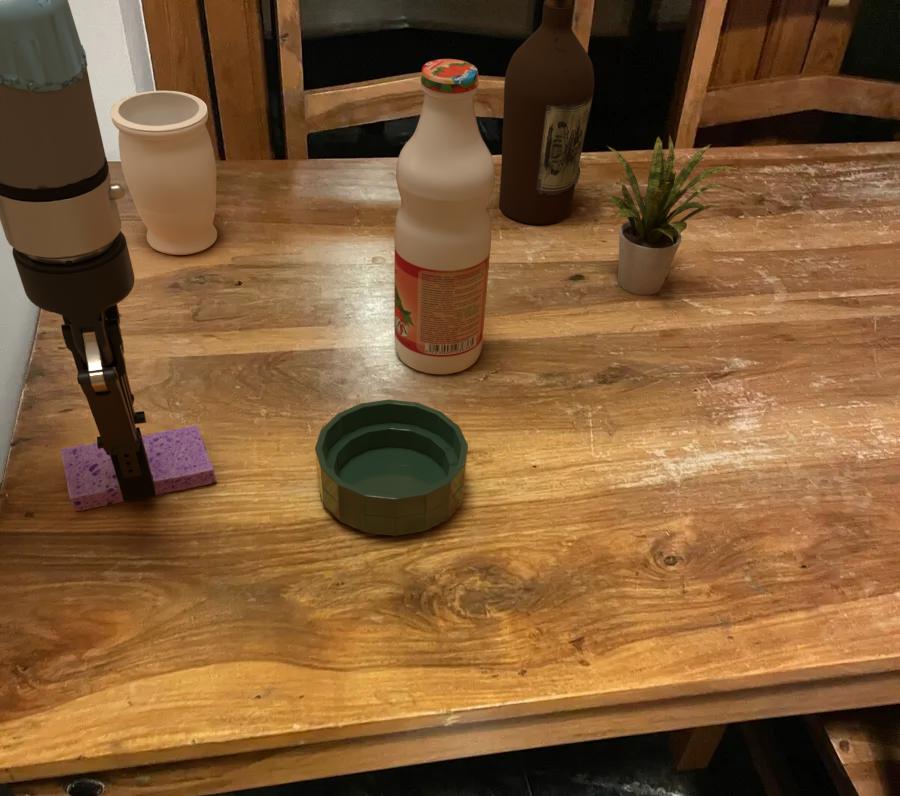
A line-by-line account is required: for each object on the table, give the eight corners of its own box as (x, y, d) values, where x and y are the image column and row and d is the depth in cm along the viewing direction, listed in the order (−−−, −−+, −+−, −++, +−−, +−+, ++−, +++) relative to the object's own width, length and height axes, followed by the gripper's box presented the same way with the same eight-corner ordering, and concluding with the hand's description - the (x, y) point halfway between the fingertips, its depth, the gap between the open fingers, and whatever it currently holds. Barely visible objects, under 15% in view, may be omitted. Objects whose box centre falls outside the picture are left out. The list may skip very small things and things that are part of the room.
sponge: (65, 463, 86) (60, 447, 85) (202, 437, 89) (199, 421, 88) (74, 514, 82) (68, 498, 80) (217, 484, 85) (214, 468, 84)
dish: (336, 551, 80) (333, 509, 76) (307, 453, 88) (303, 411, 85) (481, 526, 83) (486, 484, 79) (441, 433, 91) (443, 391, 87)
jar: (134, 222, 115) (105, 93, 104) (218, 213, 117) (199, 85, 106) (143, 266, 108) (114, 133, 97) (233, 255, 111) (214, 124, 100)
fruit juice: (456, 387, 96) (474, 100, 75) (377, 359, 99) (373, 74, 77) (496, 342, 102) (523, 63, 81) (420, 316, 104) (427, 39, 83)
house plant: (732, 307, 108) (776, 166, 96) (631, 331, 104) (662, 187, 92) (665, 248, 117) (698, 111, 104) (569, 267, 113) (591, 127, 100)
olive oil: (478, 201, 123) (493, -19, 104) (539, 181, 127) (565, -32, 108) (529, 236, 117) (555, 11, 98) (591, 214, 122) (628, -5, 103)
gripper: (129, 281, 61) (190, 537, 78) (119, 189, 69) (176, 440, 87) (7, 293, 59) (97, 552, 77) (11, 198, 67) (92, 452, 85)
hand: (139, 493), depth 82 cm, fingers closed
